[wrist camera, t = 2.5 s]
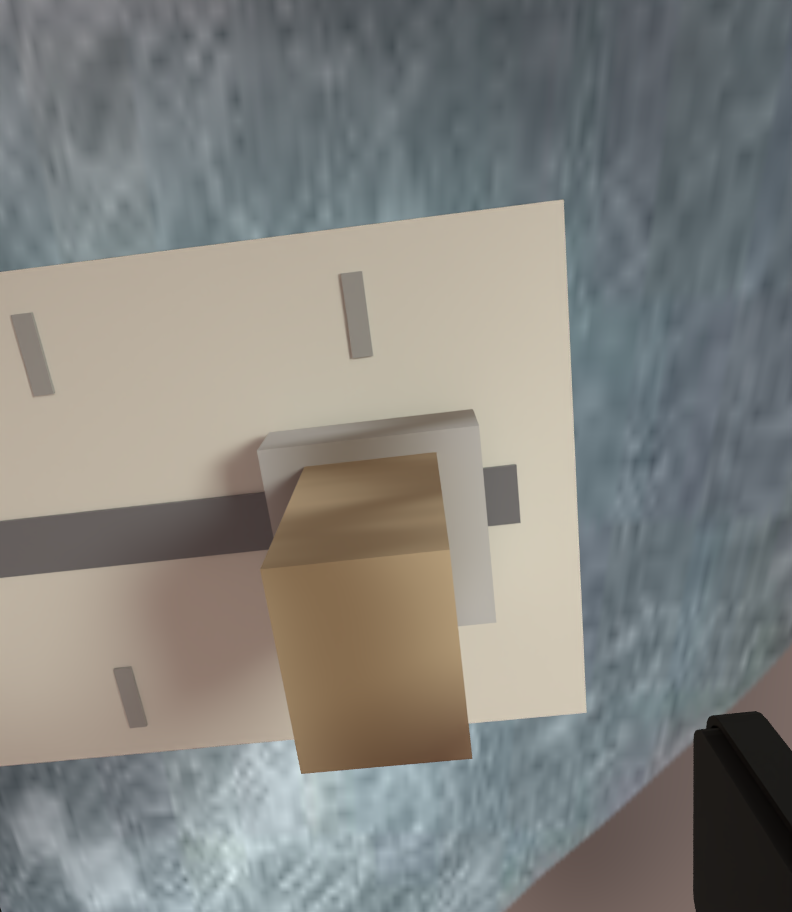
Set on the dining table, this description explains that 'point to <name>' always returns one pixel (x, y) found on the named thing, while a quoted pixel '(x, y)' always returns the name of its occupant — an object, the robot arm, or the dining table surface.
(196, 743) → the console
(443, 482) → the fader
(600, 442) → the dining table surface
